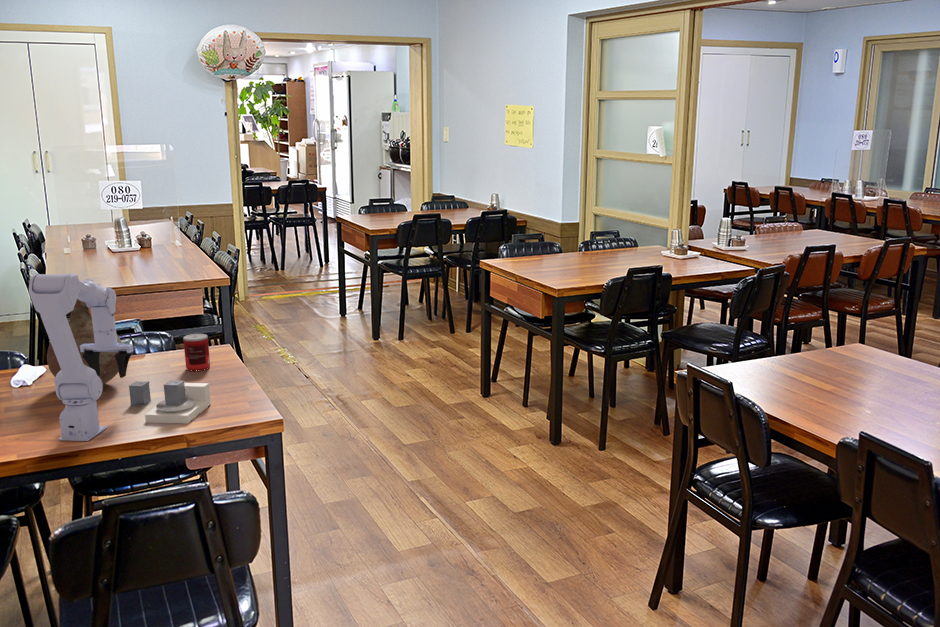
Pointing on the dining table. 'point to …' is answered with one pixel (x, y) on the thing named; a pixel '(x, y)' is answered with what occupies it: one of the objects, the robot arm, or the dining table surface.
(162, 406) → the pan
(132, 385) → the block
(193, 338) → the canned food
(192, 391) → the scale
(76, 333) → the jug
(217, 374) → the dining table surface
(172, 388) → the block
